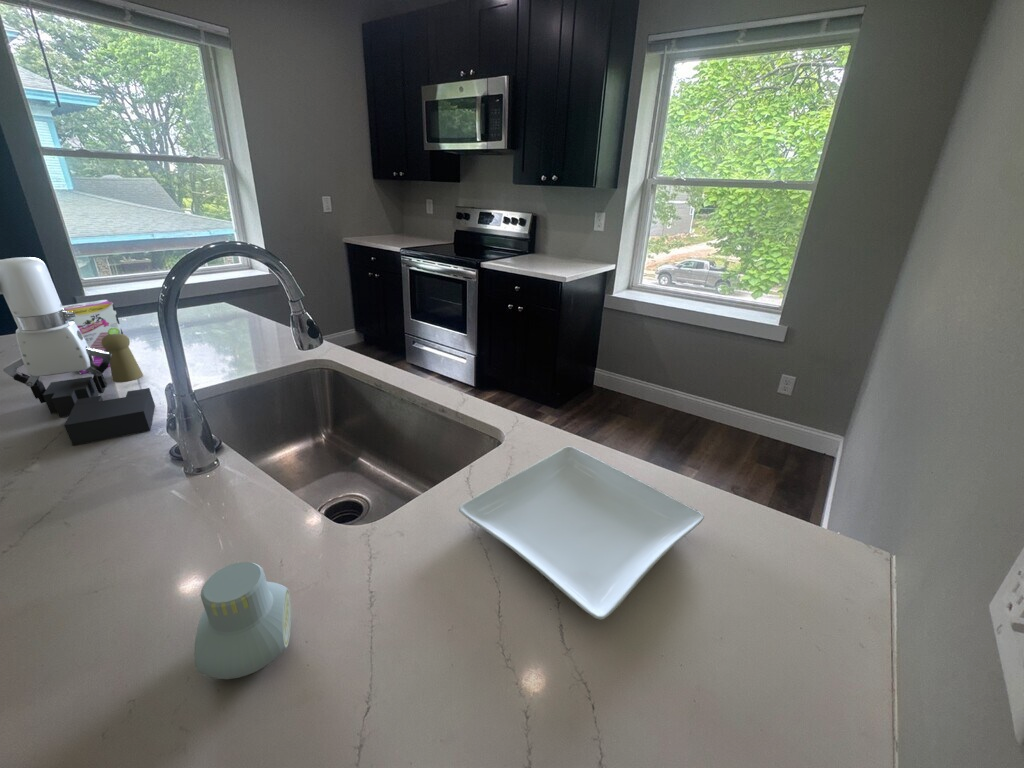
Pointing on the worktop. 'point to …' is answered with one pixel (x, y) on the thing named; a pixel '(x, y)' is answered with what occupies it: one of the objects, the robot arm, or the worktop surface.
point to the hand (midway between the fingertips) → (74, 395)
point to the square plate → (583, 525)
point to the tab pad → (68, 394)
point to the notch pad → (110, 417)
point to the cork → (121, 358)
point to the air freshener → (241, 622)
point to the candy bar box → (95, 323)
